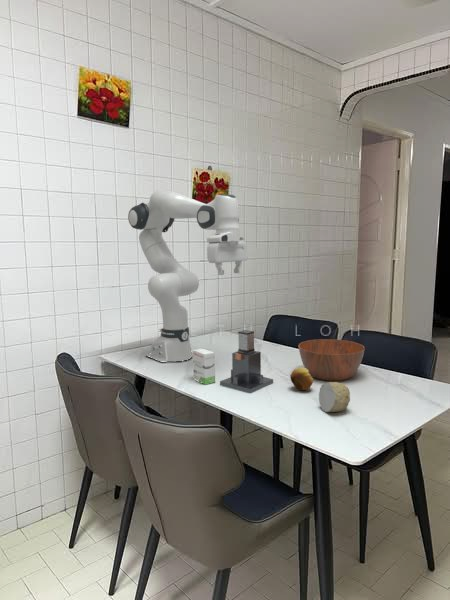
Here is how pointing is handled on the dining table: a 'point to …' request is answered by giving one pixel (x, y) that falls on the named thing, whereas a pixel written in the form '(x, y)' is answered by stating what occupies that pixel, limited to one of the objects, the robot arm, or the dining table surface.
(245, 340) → the column
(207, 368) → the ink box
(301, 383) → the fruit
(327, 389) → the yellow rounded chunk
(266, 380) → the stand
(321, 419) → the dining table surface
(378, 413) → the dining table surface
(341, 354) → the bowl
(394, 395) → the dining table surface
